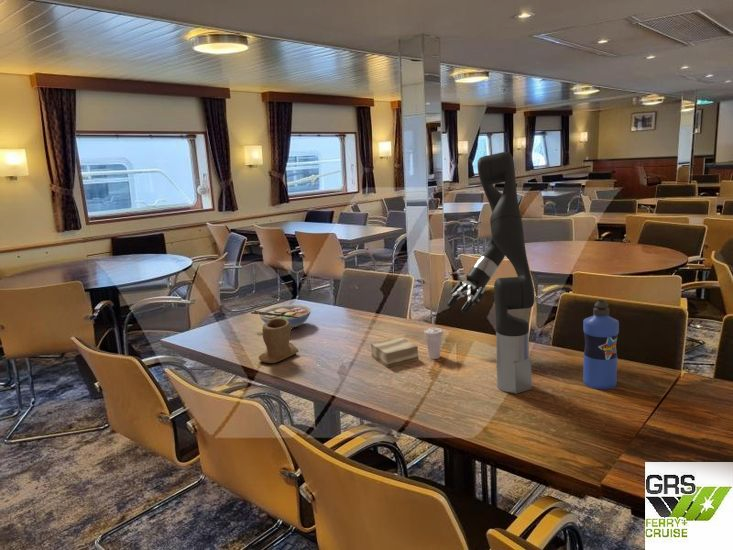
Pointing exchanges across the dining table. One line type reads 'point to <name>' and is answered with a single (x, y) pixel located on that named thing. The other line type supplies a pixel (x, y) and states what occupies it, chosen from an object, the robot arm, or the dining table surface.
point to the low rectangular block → (394, 352)
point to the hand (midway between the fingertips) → (456, 309)
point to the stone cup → (277, 341)
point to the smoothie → (433, 341)
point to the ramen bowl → (286, 313)
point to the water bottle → (600, 348)
